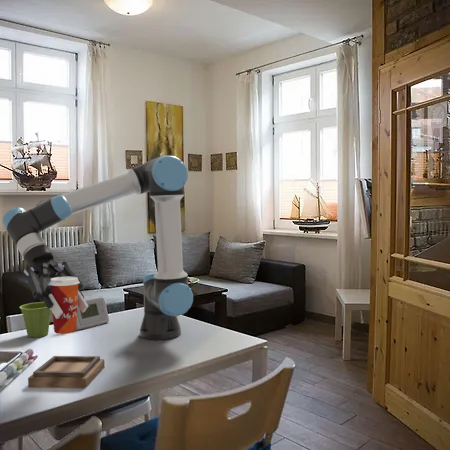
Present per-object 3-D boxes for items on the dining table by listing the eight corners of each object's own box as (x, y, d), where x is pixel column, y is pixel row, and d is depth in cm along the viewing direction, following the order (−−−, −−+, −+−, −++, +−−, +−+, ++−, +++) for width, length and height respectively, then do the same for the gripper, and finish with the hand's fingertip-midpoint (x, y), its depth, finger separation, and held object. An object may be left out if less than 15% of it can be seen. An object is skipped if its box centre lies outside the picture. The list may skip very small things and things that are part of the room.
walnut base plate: (104, 367, 149) (104, 355, 149) (86, 387, 133) (85, 374, 133) (52, 366, 150) (52, 354, 150) (28, 387, 134) (27, 373, 134)
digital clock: (75, 331, 189) (74, 304, 189) (65, 327, 196) (64, 300, 196) (113, 324, 200) (113, 298, 199) (103, 320, 207) (102, 294, 206)
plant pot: (38, 329, 193) (37, 300, 192) (61, 333, 187) (60, 303, 187) (13, 337, 182) (12, 307, 182) (36, 341, 177) (35, 310, 176)
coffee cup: (71, 335, 136) (70, 281, 135) (44, 333, 137) (42, 280, 136) (85, 327, 144) (85, 276, 143) (59, 326, 145) (58, 275, 145)
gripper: (59, 256, 157) (95, 313, 149) (-3, 264, 139) (34, 328, 131) (70, 240, 153) (107, 297, 145) (8, 246, 136) (46, 311, 128)
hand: (72, 312), depth 138 cm, fingers closed on coffee cup, 8 cm apart
